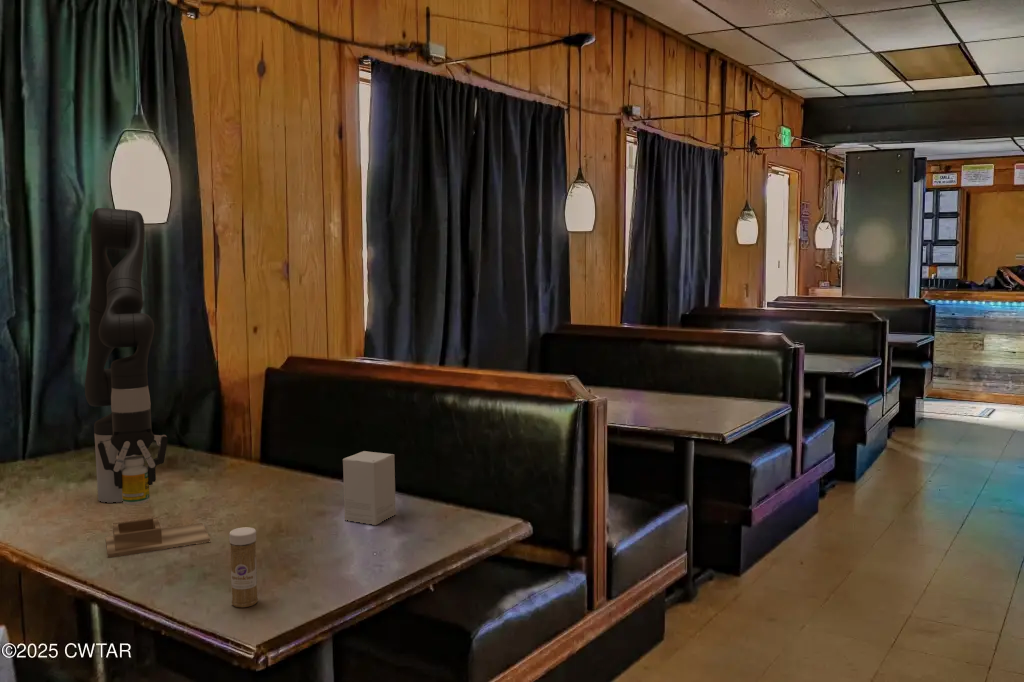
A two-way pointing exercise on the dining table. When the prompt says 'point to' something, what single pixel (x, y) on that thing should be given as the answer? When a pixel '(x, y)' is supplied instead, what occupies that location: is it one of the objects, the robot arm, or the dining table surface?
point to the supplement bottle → (135, 481)
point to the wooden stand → (151, 537)
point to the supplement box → (369, 487)
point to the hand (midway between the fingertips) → (135, 485)
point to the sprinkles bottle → (243, 566)
